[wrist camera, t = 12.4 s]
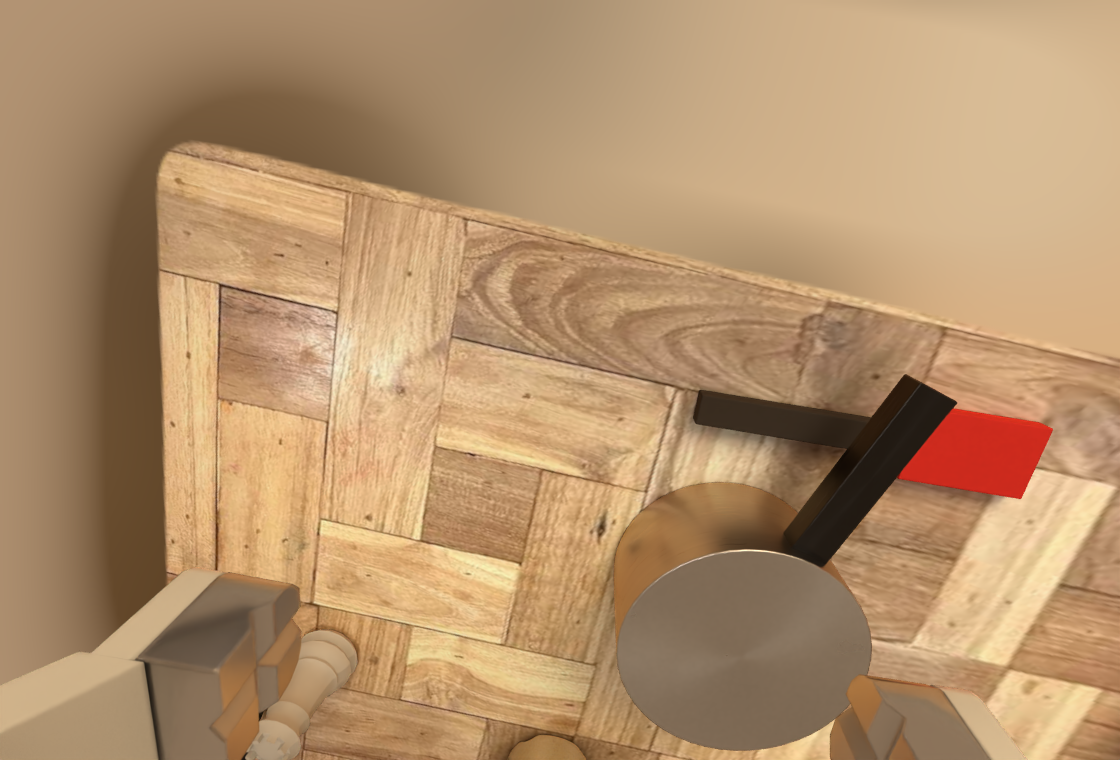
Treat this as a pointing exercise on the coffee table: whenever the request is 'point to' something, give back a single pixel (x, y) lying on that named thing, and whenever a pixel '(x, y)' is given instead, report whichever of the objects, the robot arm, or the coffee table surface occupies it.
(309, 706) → the rook chess piece
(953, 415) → the spatula
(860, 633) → the saucepan
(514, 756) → the flower pot
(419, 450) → the coffee table surface
